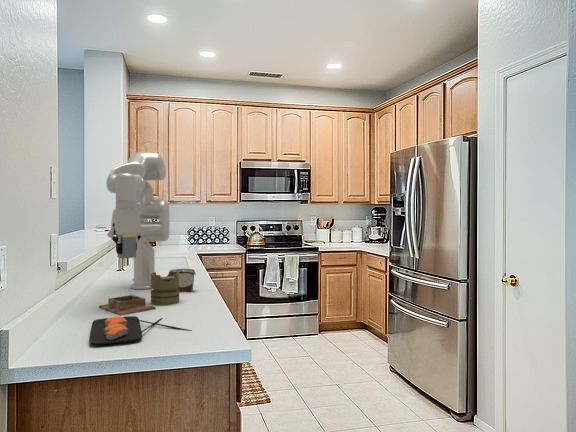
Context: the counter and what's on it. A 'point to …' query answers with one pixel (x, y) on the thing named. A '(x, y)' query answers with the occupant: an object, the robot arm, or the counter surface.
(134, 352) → the counter surface
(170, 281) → the piston
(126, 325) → the sushi plate
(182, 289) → the food container
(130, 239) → the gold and gray block
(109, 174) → the robot arm
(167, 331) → the counter surface
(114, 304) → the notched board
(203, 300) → the counter surface
